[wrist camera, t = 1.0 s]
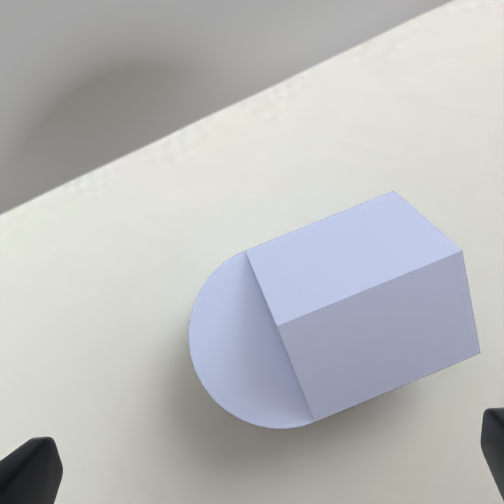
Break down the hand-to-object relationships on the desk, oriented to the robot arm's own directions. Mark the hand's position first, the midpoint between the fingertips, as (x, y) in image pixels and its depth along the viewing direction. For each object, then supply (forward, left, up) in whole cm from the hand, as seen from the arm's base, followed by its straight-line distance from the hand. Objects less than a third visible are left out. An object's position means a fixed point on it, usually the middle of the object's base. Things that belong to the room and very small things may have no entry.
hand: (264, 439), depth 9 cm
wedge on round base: (+3, -3, -15) cm, 16 cm away
